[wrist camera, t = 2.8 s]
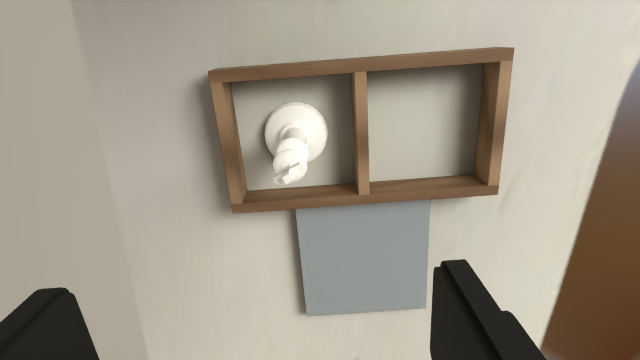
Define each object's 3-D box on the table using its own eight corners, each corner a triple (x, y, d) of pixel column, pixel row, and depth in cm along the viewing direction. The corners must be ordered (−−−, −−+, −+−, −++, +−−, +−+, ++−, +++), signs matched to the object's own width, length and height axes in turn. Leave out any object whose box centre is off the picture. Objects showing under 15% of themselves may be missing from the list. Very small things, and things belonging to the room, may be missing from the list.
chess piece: (252, 123, 28) (221, 164, 19) (305, 89, 27) (301, 114, 18) (287, 174, 30) (275, 235, 20) (339, 143, 29) (351, 192, 20)
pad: (295, 203, 31) (295, 209, 30) (426, 194, 30) (430, 199, 30) (306, 308, 35) (306, 316, 34) (422, 301, 34) (425, 308, 33)
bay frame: (217, 68, 27) (207, 71, 24) (496, 47, 26) (514, 47, 24) (239, 200, 30) (232, 213, 28) (483, 182, 30) (497, 194, 28)
